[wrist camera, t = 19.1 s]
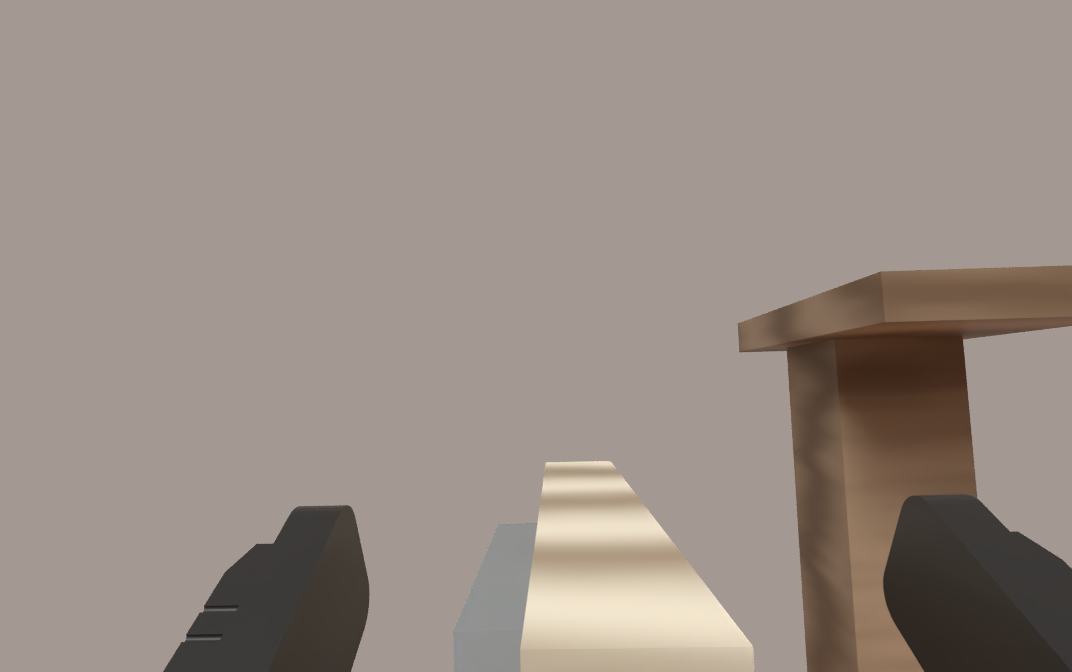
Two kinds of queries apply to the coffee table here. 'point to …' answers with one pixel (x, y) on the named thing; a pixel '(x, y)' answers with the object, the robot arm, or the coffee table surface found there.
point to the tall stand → (884, 427)
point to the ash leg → (617, 587)
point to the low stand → (497, 604)
